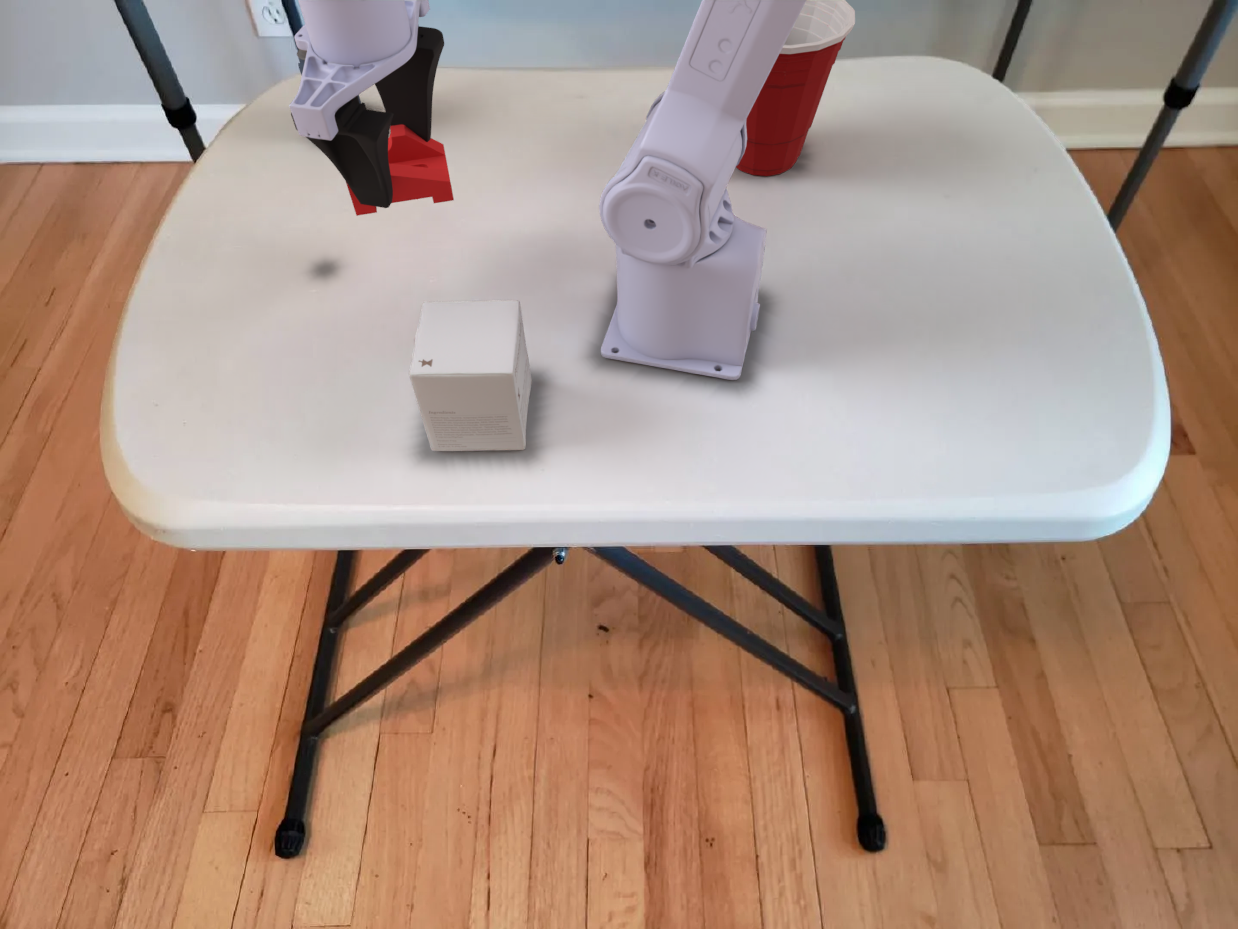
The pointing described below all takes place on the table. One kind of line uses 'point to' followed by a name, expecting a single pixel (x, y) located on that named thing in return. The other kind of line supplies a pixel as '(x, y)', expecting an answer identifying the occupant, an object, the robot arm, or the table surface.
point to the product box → (472, 375)
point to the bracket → (413, 170)
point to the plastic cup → (795, 87)
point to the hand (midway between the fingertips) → (396, 171)
